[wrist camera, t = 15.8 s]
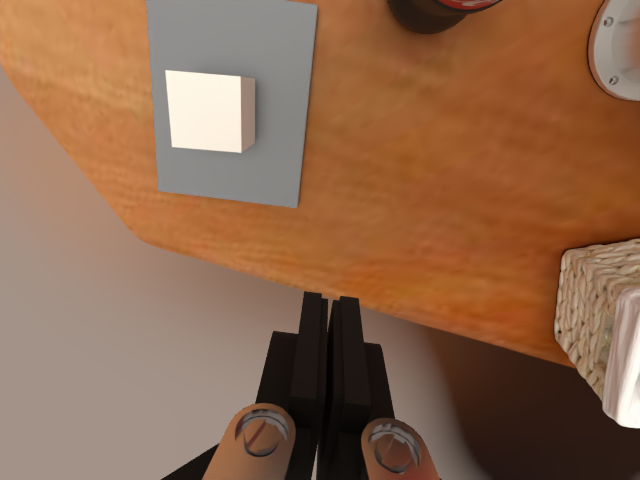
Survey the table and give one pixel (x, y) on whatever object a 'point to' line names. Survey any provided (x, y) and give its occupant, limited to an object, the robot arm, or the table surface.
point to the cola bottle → (435, 13)
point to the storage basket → (603, 323)
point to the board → (246, 61)
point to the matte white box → (211, 111)
